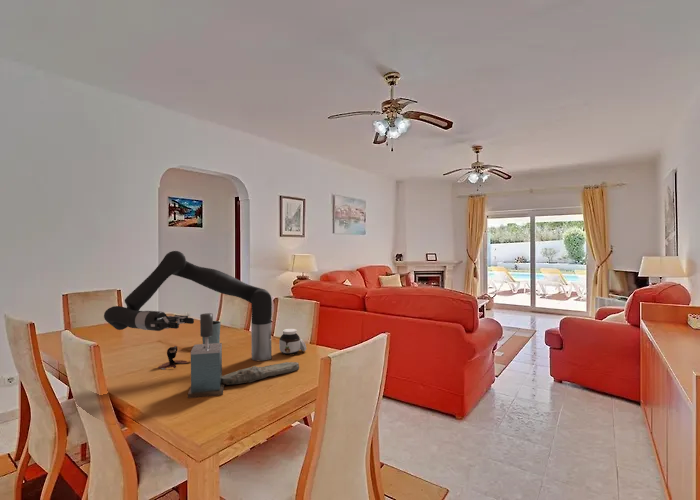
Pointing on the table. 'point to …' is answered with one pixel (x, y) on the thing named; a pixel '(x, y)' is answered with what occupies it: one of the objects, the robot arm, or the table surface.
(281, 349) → the spread jar
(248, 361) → the table surface
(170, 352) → the dark brown curved piece
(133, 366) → the table surface
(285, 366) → the long grey stone
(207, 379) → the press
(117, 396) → the table surface
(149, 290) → the robot arm
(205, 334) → the lever
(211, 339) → the drinking glass
